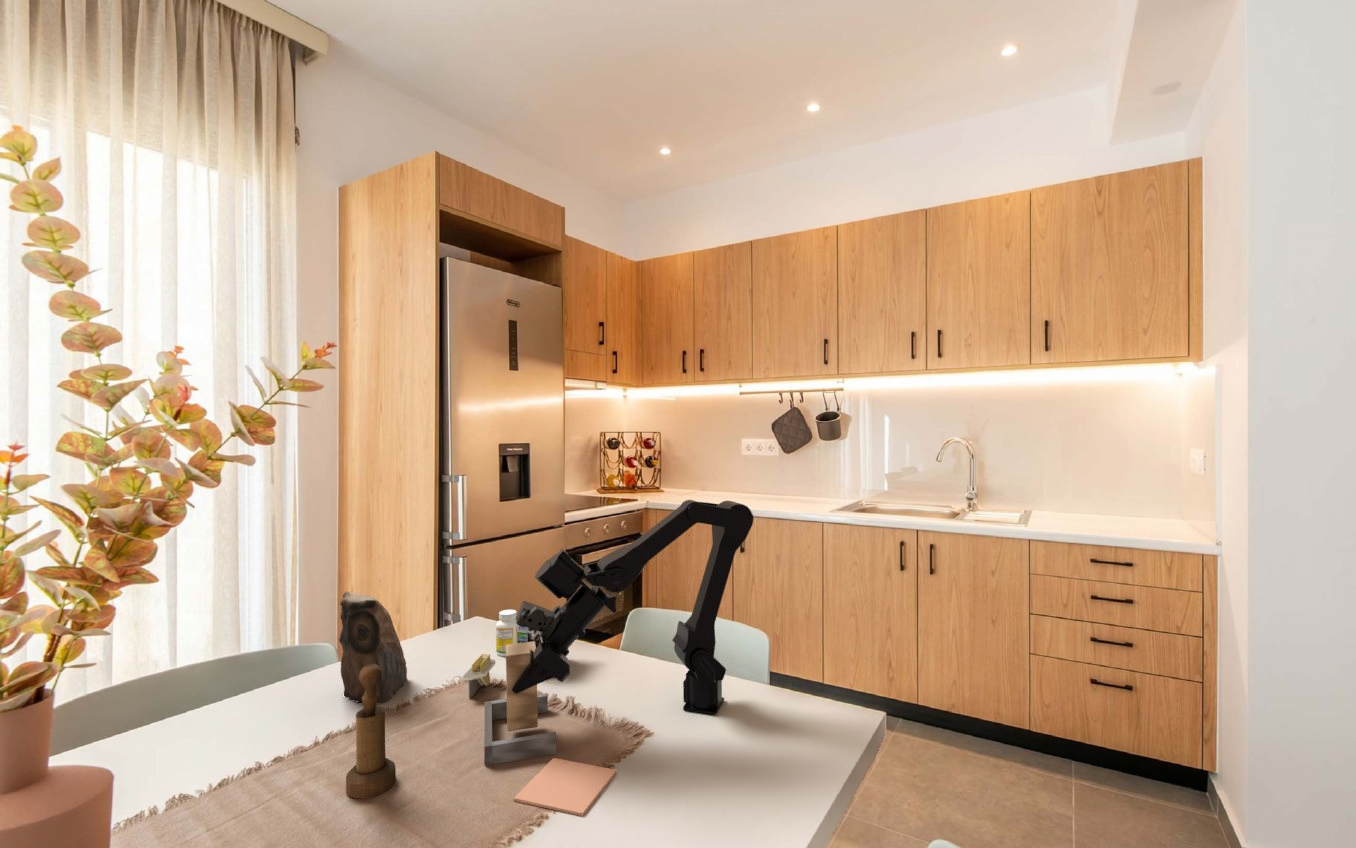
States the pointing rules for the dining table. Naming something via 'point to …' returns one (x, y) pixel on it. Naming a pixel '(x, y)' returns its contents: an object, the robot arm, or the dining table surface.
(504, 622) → the supplement bottle
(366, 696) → the mortar and pestle
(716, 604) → the robot arm
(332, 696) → the dining table surface
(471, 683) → the platform
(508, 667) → the block
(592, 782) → the mat
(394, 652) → the owl
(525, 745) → the nook
